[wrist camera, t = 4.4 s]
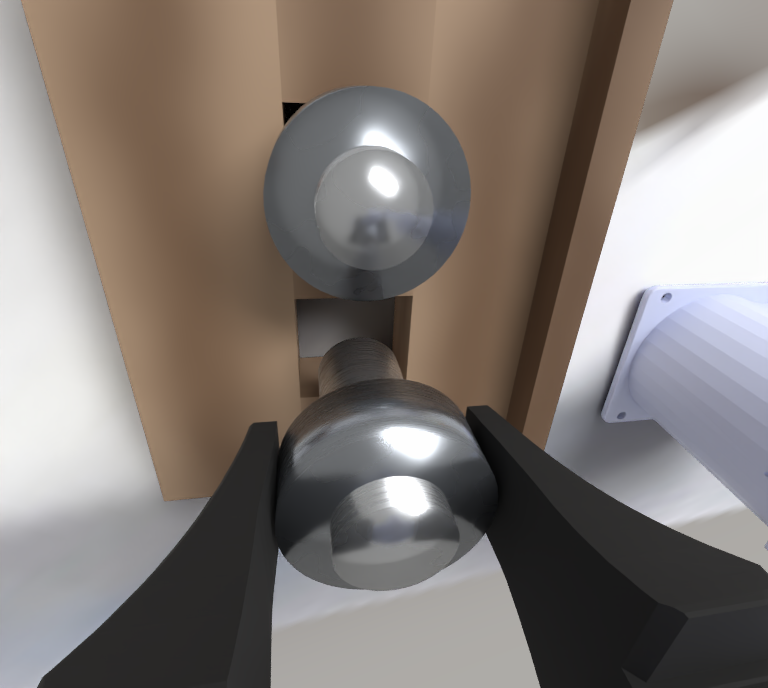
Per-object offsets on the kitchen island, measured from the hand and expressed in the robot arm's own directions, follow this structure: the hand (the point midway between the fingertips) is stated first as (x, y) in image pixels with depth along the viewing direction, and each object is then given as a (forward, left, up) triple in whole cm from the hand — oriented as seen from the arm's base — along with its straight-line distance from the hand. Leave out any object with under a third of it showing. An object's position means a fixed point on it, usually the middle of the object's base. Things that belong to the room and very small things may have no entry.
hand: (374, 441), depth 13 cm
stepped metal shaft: (0, 0, -4) cm, 4 cm away
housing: (0, -3, -8) cm, 9 cm away
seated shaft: (0, -6, -8) cm, 10 cm away
